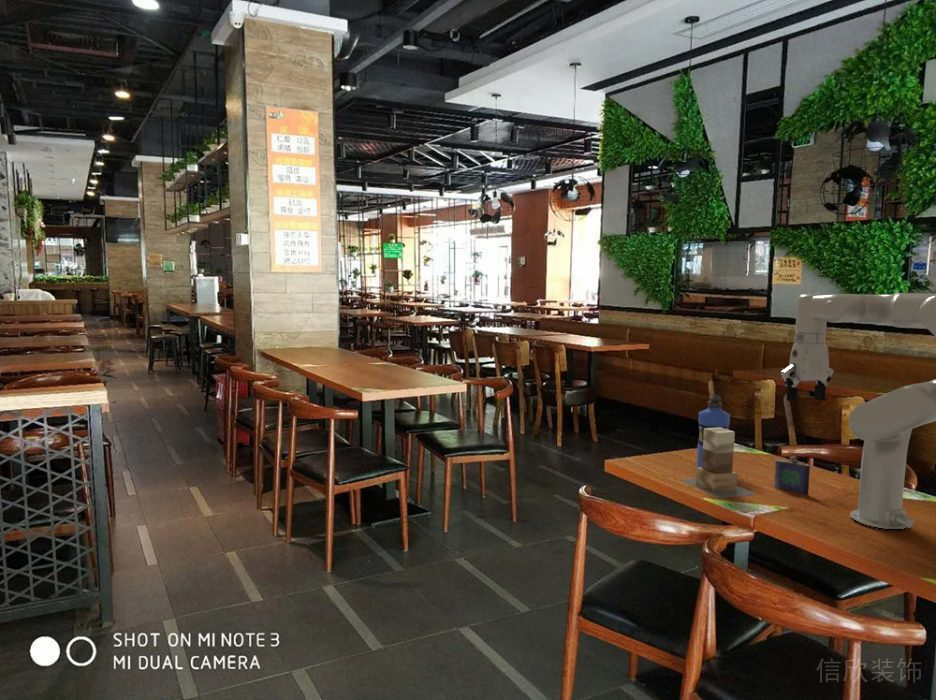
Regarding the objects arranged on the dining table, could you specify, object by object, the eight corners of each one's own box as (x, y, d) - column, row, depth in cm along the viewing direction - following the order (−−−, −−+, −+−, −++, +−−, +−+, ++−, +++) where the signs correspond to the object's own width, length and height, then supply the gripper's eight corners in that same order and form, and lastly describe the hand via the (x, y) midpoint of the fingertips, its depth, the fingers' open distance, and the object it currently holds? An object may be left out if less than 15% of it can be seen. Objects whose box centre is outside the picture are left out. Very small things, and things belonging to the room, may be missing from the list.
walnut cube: (732, 472, 193) (733, 452, 193) (715, 473, 191) (716, 453, 191) (718, 466, 199) (719, 447, 198) (701, 468, 197) (702, 448, 196)
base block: (736, 489, 193) (737, 473, 193) (713, 492, 191) (714, 475, 190) (718, 481, 201) (719, 465, 200) (695, 483, 198) (696, 467, 198)
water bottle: (694, 473, 212) (698, 396, 209) (696, 466, 220) (700, 391, 218) (726, 477, 208) (730, 398, 206) (727, 469, 217) (731, 393, 214)
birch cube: (733, 452, 193) (734, 431, 192) (716, 453, 191) (717, 433, 190) (719, 447, 198) (720, 427, 198) (702, 448, 196) (703, 428, 196)
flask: (772, 489, 196) (775, 454, 195) (775, 487, 198) (778, 452, 197) (806, 496, 190) (809, 460, 189) (809, 494, 193) (812, 458, 192)
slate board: (757, 497, 189) (757, 494, 189) (719, 501, 185) (719, 498, 185) (715, 478, 206) (715, 476, 206) (679, 482, 202) (679, 479, 202)
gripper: (795, 340, 177) (791, 404, 179) (845, 339, 182) (841, 401, 184) (774, 338, 184) (770, 399, 186) (823, 337, 189) (819, 397, 191)
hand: (805, 400), depth 185 cm, fingers open, 9 cm apart
